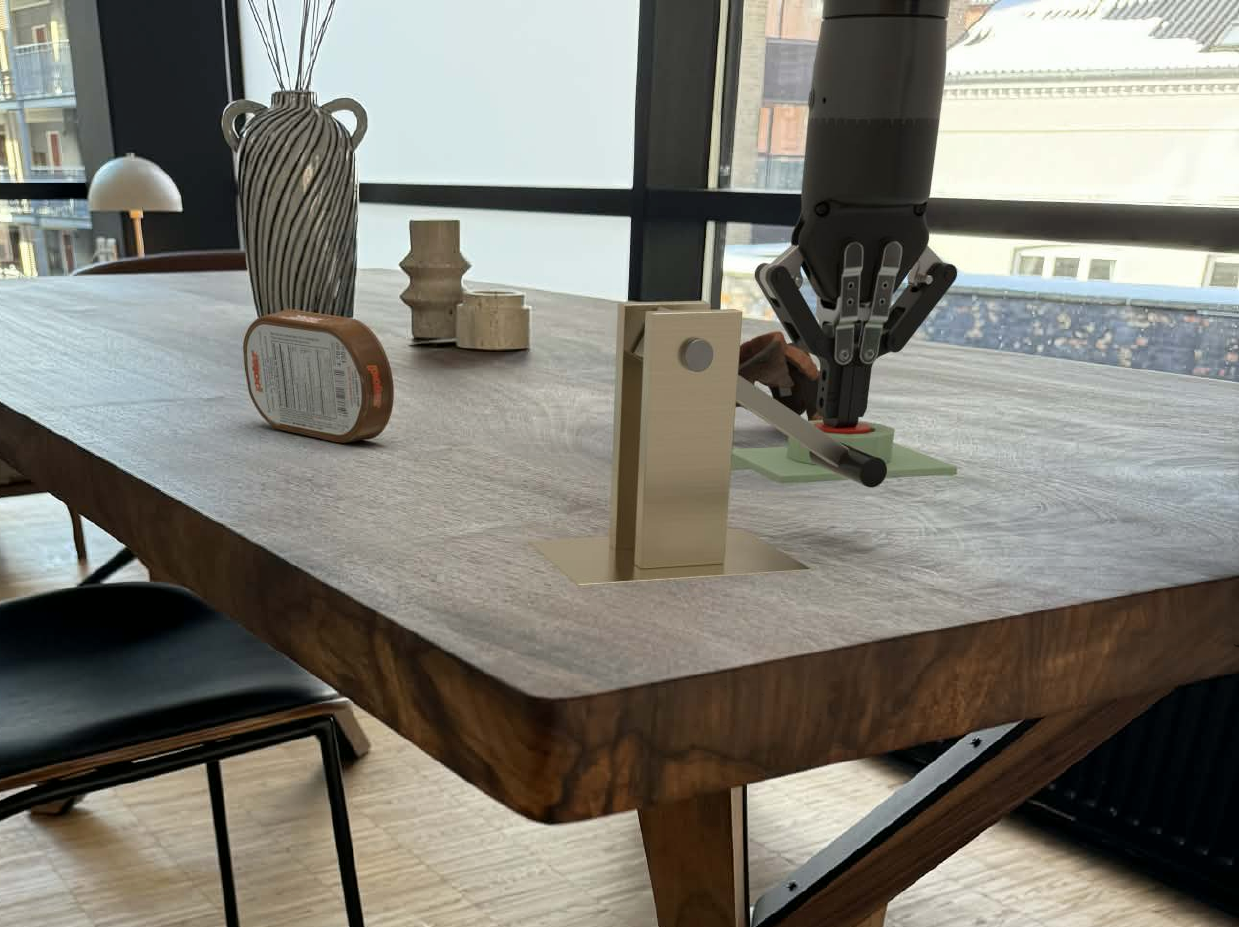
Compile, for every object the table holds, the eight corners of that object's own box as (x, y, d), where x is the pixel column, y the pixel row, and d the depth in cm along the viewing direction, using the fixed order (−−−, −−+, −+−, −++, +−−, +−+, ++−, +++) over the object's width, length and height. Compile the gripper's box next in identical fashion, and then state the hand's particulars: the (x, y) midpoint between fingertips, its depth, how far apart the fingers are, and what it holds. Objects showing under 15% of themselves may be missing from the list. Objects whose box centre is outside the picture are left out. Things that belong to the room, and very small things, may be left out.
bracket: (740, 552, 82) (760, 295, 76) (809, 595, 75) (838, 313, 68) (527, 565, 80) (530, 300, 73) (577, 611, 72) (584, 319, 66)
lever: (818, 478, 80) (844, 436, 79) (870, 501, 75) (898, 457, 74) (620, 348, 74) (645, 301, 73) (661, 364, 69) (689, 314, 68)
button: (852, 447, 99) (855, 419, 98) (877, 457, 96) (881, 428, 95) (801, 450, 98) (804, 421, 97) (825, 460, 95) (828, 431, 94)
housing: (888, 467, 103) (894, 413, 102) (954, 494, 96) (962, 436, 94) (723, 475, 101) (727, 420, 99) (778, 503, 93) (783, 444, 91)
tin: (399, 446, 110) (395, 320, 106) (365, 451, 108) (360, 323, 104) (274, 420, 119) (266, 304, 115) (241, 425, 117) (231, 307, 113)
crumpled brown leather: (826, 459, 108) (776, 353, 104) (713, 505, 114) (663, 406, 110) (866, 391, 116) (822, 290, 112) (759, 438, 122) (713, 343, 118)
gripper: (795, 110, 83) (766, 440, 92) (1010, 112, 86) (963, 431, 95) (742, 111, 90) (720, 419, 98) (944, 113, 93) (905, 412, 101)
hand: (839, 425), depth 96 cm, fingers closed
